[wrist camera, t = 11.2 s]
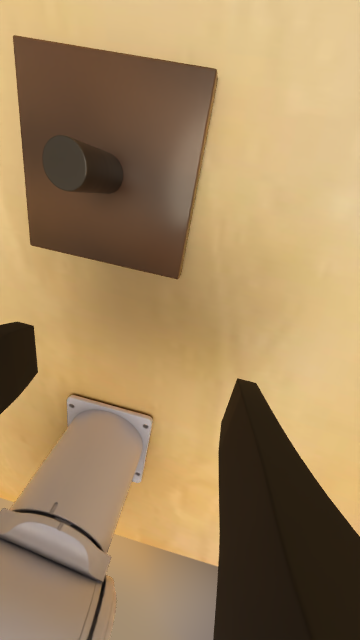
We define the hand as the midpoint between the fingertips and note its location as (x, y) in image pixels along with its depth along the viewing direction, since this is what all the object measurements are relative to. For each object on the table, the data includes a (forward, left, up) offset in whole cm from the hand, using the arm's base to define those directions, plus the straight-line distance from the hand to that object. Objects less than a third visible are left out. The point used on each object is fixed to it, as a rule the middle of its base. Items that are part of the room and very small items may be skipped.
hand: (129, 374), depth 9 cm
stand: (+6, +5, -9) cm, 12 cm away
